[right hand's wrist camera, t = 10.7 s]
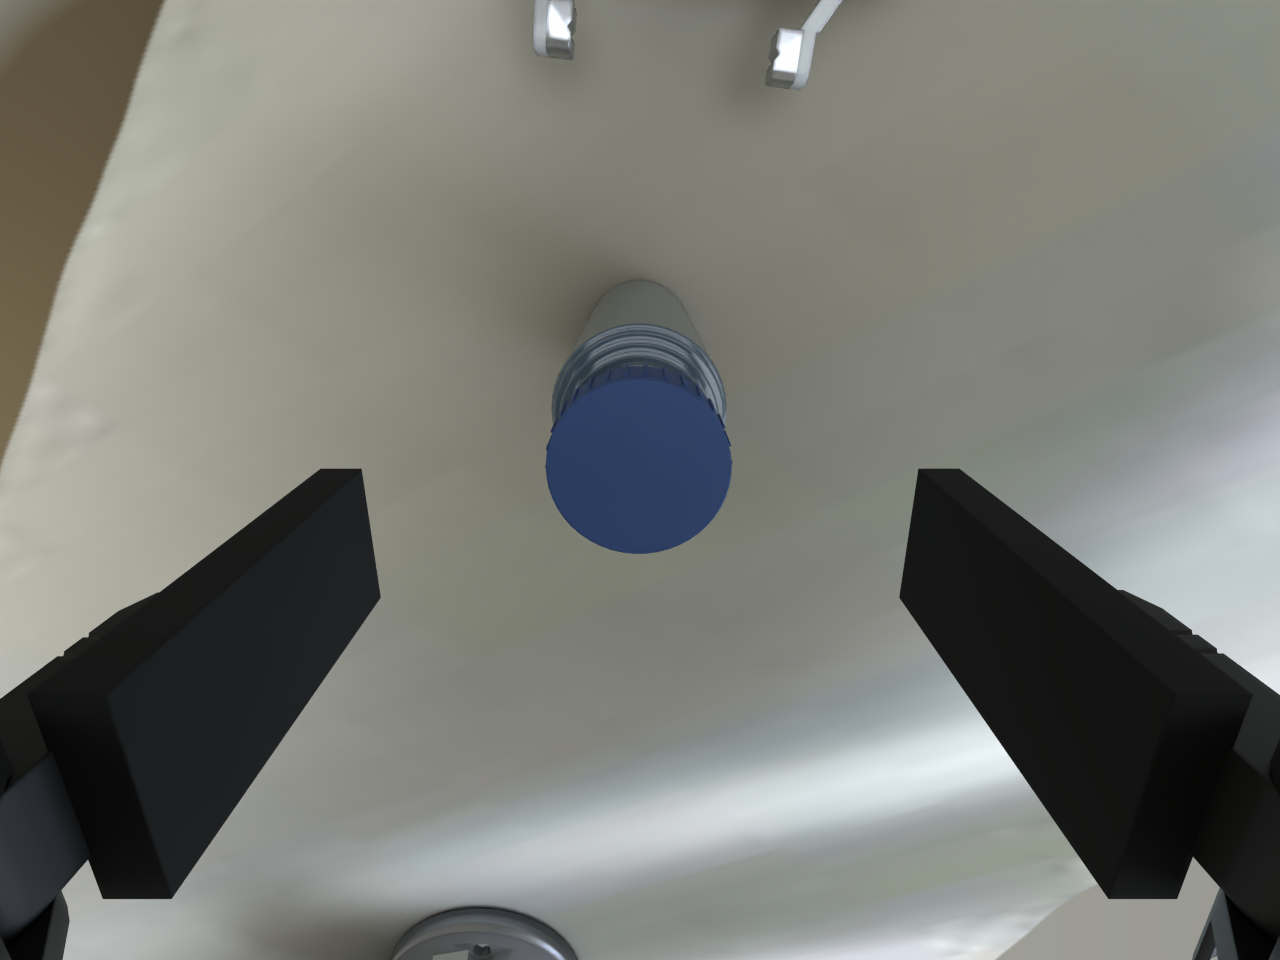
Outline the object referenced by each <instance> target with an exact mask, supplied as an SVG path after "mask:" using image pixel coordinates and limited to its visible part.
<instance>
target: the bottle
mask: <svg viewBox="0 0 1280 960" xmlns="http://www.w3.org/2000/svg"><path fill="white" fill-rule="evenodd" d="M626 364H629V366H644V365H645V364H648V366H649V367H656V368H660V369H663V367H666V368H667V370H668V371H670V372H673V373H675V374H677V375H679V376H680V375H681V374H682V375H684V377H685V379H686V380H688V381H689V382H691V383H692V384H693V385H695V386H696V385H698V386H699V387H700V390H701V392H702V393H703V394H704V395H705V396H706V398H707V399H709V398H710V399H711V400H712V403H713V405H714V407H715V410H716V413H717V414H718V413H719V414H720V416H721V418H722V421H723V423H724V426H725V420H726V396H725V391H724V387H723V383H722V380H721V378H720V375H719V373H718V371H717V369H716V367H715V365H714V363H713V361H712V359H711V357H710V356H709V354H708V352H707V350H706V348H705V346H704V344H703V342H702V340H701V339H700V337H699V335H698V333H697V331H696V329H695V327H694V325H693V323H692V321H691V320H690V318H689V316H688V314H687V312H686V310H685V308H684V306H683V305H682V303H681V302H680V300H679V299H678V298H677V297H676V296H675V295H674V294H673V293H672V292H671V291H670V290H668V289H667V288H665V287H663V286H662V285H659V284H657V283H654V282H650V281H643V280H635V281H629V282H625V283H622V284H620V285H617V286H615V287H614V288H612V289H610V290H609V291H608V292H607V293H606V294H604V296H603V297H602V298H601V299H600V300H599V302H598V303H597V304H596V306H595V308H594V310H593V312H592V314H591V315H590V317H589V319H588V321H587V323H586V325H585V327H584V328H583V330H582V332H581V334H580V336H579V338H578V339H577V341H576V343H575V345H574V347H573V349H572V351H571V352H570V354H569V356H568V358H567V360H566V362H565V364H564V365H563V367H562V369H561V371H560V373H559V375H558V378H557V381H556V383H555V387H554V391H553V396H552V420H553V425H554V422H555V420H556V418H557V417H560V415H559V414H560V411H561V409H562V407H563V404H564V402H565V401H566V402H568V401H569V400H570V398H571V397H572V396H573V394H574V392H575V389H576V388H577V387H578V388H579V389H580V388H581V387H582V386H583V385H584V384H586V383H587V382H588V381H589V379H590V377H592V376H593V377H594V378H595V377H597V376H598V375H600V374H603V373H605V372H606V371H607V369H609V368H610V369H611V370H614V369H617V368H621V367H625V365H626ZM723 430H724V429H723Z"/></svg>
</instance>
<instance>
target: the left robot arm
mask: <svg viewBox="0 0 1280 960" xmlns="http://www.w3.org/2000/svg"><path fill="white" fill-rule="evenodd" d="M841 2H842V0H819V1H818V2H817V4H816V5H815V6H814V8H813V9H812V11H811V12H810V14H809V15H808V16H807V18H806V19H805V21H804V22H803V24H802V25H801V26H800V28H799V29H798V30H795V29H785V28H779V29H778V31H777V32H776V35H774V36H773V38H772V39H771V45H770V52H769V60H770V62H771V65H770V66H769V67H768V69H767V71H766V78H765V85H766V86H772V87H778V88H785V89H791V90H801V89H802V88H803V87H804V86H805V85H806V82H807V79H808V75H809V71H810V66H811V60H812V54H813V49H814V43H815V37H816V36H817V35H818V33H819V32H820V31H821V30H822V28H823V27H824V25H825V24H826V23H827V21H828V20H829V18H830V17H831V16H832V14H833V13H834V11H835V10H836V9H837V7H838V6H839V4H840V3H841ZM576 17H577V12H576V8H574V2H573V0H535V7H534V27H533V47H534V51H535V53H536V54H537V56H542V57H550V58H558V59H566V60H573V57H574V47H575V44H574V41H573V38H572V36H573V34H574V33H575V32H576Z"/></svg>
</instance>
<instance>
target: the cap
mask: <svg viewBox="0 0 1280 960" xmlns="http://www.w3.org/2000/svg"><path fill="white" fill-rule="evenodd" d="M559 415H560V417H557V418H556V420H555V422H554V425H553V427H552V429H551V432H552V433H553V434H552V435H551V438H550V440H549V442H548V445H547V447H546V450H547V457H546V476H547V481H548V486H549V490H550V493H551V496H552V498H553V501H554V502H555V504H556V506H557V508H558V510H559V511H560V513H561V514H562V516H563V517H564V519H565V520H566V521H567V522H568V523H569V524H570V525H571V526H572V527H573V528H574V529H575V530H576V531H577V532H578V533H580V534H581V535H582V536H584V537H585V538H587V539H588V540H590V541H592V542H594V543H596V544H598V545H600V546H602V547H605V548H608V549H610V550H614V551H619V552H624V553H633V554H646V553H654V552H659V551H663V550H667V549H670V548H673V547H675V546H678V545H680V544H682V543H684V542H686V541H688V540H689V539H691V538H692V537H694V536H695V535H697V534H698V533H699V532H700V531H702V530H703V529H704V528H705V527H706V526H707V525H708V524H709V523H710V522H711V520H712V519H713V518H714V517H715V515H716V514H717V512H718V511H719V509H720V508H721V506H722V504H723V502H724V500H725V497H726V495H727V491H728V488H729V485H730V479H731V468H732V460H731V452H730V448H729V446H731V444H730V441H729V439H728V436H727V434H726V431H725V430H723V429H725V426H724V423H723V421H722V418H721V416H720V414H719V413H718V414H717V413H716V410H715V407H714V405H713V403H712V400H711V399H710V398H709V399H707V398H706V396H705V395H704V394H703V393H702V392H701V390H700V387H699V386H698V385H696V386H695V385H693V384H692V383H691V382H689V381H688V380H686V379H685V377H684V375H682V374H681V375H680V376H679V375H677V374H675V373H673V372H670V371H668V370H667V368H666V367H663V369H660V368H656V367H649V366H648V364H645V365H644V366H629V364H626V365H625V367H621V368H617V369H614V370H611V369H610V368H609V369H607V371H606V372H605V373H603V374H600V375H598V376H597V377H595V378H594V377H593V376H592V377H590V379H589V381H588V382H587V383H586V384H584V385H583V386H582V387H581V388H580V389H579V388H578V387H577V388H576V389H575V392H574V394H573V396H572V397H571V398H570V400H569V401H568V402H566V401H565V402H564V404H563V407H562V409H561V411H560V414H559Z"/></svg>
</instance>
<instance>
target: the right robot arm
mask: <svg viewBox="0 0 1280 960" xmlns="http://www.w3.org/2000/svg"><path fill="white" fill-rule="evenodd" d="M380 598H381V597H380V590H379V583H378V576H377V570H376V563H375V556H374V550H373V543H372V536H371V529H370V523H369V516H368V509H367V503H366V496H365V489H364V482H363V476H362V469H320V470H318V471H317V472H316V473H315V474H313V475H312V476H311V477H309V478H308V479H307V480H305V481H304V482H303V483H302V484H300V485H299V486H298V487H296V488H295V489H294V490H292V491H291V492H290V493H289V494H287V495H286V496H285V497H283V498H282V499H281V500H279V501H278V502H277V503H275V504H274V505H273V506H272V507H270V508H269V509H268V510H266V511H265V512H264V513H262V514H261V515H260V516H259V517H257V518H256V519H255V520H253V521H252V522H251V523H249V524H248V525H247V526H246V527H244V528H243V529H242V530H240V531H239V532H238V533H236V534H235V535H234V536H232V537H231V538H230V539H229V540H227V541H226V542H225V543H223V544H222V545H221V546H219V547H218V548H217V549H216V550H214V551H213V552H212V553H210V554H209V555H208V556H206V557H205V558H204V559H203V560H201V561H200V562H199V563H197V564H196V565H195V566H193V567H192V568H191V569H189V570H188V571H187V572H186V573H184V574H183V575H182V576H180V577H179V578H178V579H176V580H175V581H174V582H173V583H171V584H170V585H169V586H167V587H166V588H165V589H163V590H162V591H161V592H160V593H156V594H154V595H151V596H149V597H147V598H145V599H143V600H141V601H139V602H137V603H135V604H132V605H130V606H128V607H126V608H124V609H122V610H120V611H118V612H117V613H115V614H114V615H113V616H111V617H110V618H109V619H107V620H106V621H105V622H103V623H102V624H101V625H99V626H98V627H96V628H95V629H94V630H92V631H91V632H90V633H89V637H83V638H82V639H80V640H79V641H78V642H76V643H75V644H74V645H72V646H71V647H70V648H68V649H67V650H66V651H64V656H57V657H56V658H55V659H53V660H52V661H51V662H49V663H48V664H47V665H45V666H44V667H43V668H41V669H40V670H39V671H37V672H36V673H35V674H33V675H32V676H30V677H29V678H28V679H26V680H25V681H24V682H22V683H21V684H20V685H18V686H17V687H16V688H14V689H13V690H12V691H10V692H9V693H8V694H6V695H5V696H4V697H2V698H1V699H0V960H62V959H63V954H64V948H65V943H66V937H67V932H68V926H69V914H68V907H67V904H66V901H65V899H64V896H63V894H62V891H61V890H62V889H63V888H64V886H65V885H66V884H67V883H68V882H69V881H70V879H71V878H72V877H73V876H74V875H75V874H76V873H77V871H78V870H79V869H80V868H81V867H82V866H83V864H84V863H85V862H86V861H87V860H89V863H90V865H91V868H92V871H93V873H94V876H95V879H96V882H97V884H98V887H99V890H100V892H101V895H102V898H103V899H172V897H173V896H174V895H175V893H176V892H177V890H178V889H179V887H180V886H181V884H182V883H183V882H184V880H185V879H186V877H187V876H188V874H189V873H190V872H191V870H192V869H193V867H194V866H195V864H196V863H197V861H198V860H199V859H200V857H201V856H202V854H203V853H204V851H205V850H206V848H207V847H208V846H209V844H210V843H211V841H212V840H213V838H214V837H215V835H216V834H217V833H218V831H219V830H220V828H221V827H222V825H223V824H224V823H225V821H226V820H227V818H228V817H229V815H230V814H231V812H232V811H233V810H234V808H235V807H236V805H237V804H238V802H239V801H240V799H241V798H242V797H243V795H244V794H245V792H246V791H247V789H248V788H249V786H250V785H251V784H252V782H253V781H254V779H255V778H256V776H257V775H258V774H259V772H260V771H261V769H262V768H263V766H264V765H265V763H266V762H267V761H268V759H269V758H270V756H271V755H272V753H273V752H274V750H275V749H276V748H277V746H278V745H279V743H280V742H281V740H282V739H283V737H284V736H285V735H286V733H287V732H288V730H289V729H290V727H291V726H292V725H293V723H294V722H295V720H296V719H297V717H298V716H299V714H300V713H301V712H302V710H303V709H304V707H305V706H306V704H307V703H308V701H309V700H310V699H311V697H312V696H313V694H314V693H315V691H316V690H317V689H318V687H319V686H320V684H321V683H322V681H323V680H324V678H325V677H326V676H327V674H328V673H329V671H330V670H331V668H332V667H333V665H334V664H335V663H336V661H337V660H338V658H339V657H340V655H341V654H342V652H343V651H344V650H345V648H346V647H347V645H348V644H349V642H350V641H351V640H352V638H353V637H354V635H355V634H356V632H357V631H358V629H359V628H360V627H361V625H362V624H363V622H364V621H365V619H366V618H367V616H368V615H369V614H370V612H371V611H372V609H373V608H374V606H375V605H376V603H377V602H378V601H379V599H380ZM899 598H900V599H901V601H902V602H903V603H904V605H905V606H906V608H907V609H908V611H909V612H910V614H911V615H912V616H913V618H914V619H915V621H916V622H917V624H918V625H919V627H920V628H921V629H922V631H923V632H924V634H925V635H926V637H927V638H928V640H929V641H930V642H931V644H932V645H933V647H934V648H935V650H936V651H937V652H938V654H939V655H940V657H941V658H942V660H943V661H944V663H945V664H946V665H947V667H948V668H949V670H950V671H951V673H952V674H953V676H954V677H955V678H956V680H957V681H958V683H959V684H960V686H961V687H962V688H963V690H964V691H965V693H966V694H967V696H968V697H969V699H970V700H971V701H972V703H973V704H974V706H975V707H976V709H977V710H978V712H979V713H980V714H981V716H982V717H983V719H984V720H985V722H986V723H987V725H988V726H989V727H990V729H991V730H992V732H993V733H994V735H995V736H996V737H997V739H998V740H999V742H1000V743H1001V745H1002V746H1003V748H1004V749H1005V750H1006V752H1007V753H1008V755H1009V756H1010V758H1011V759H1012V761H1013V762H1014V763H1015V765H1016V766H1017V768H1018V769H1019V771H1020V772H1021V774H1022V775H1023V776H1024V778H1025V779H1026V781H1027V782H1028V784H1029V785H1030V786H1031V788H1032V789H1033V791H1034V792H1035V794H1036V795H1037V797H1038V798H1039V799H1040V801H1041V802H1042V804H1043V805H1044V807H1045V808H1046V810H1047V811H1048V812H1049V814H1050V815H1051V817H1052V818H1053V820H1054V821H1055V823H1056V824H1057V825H1058V827H1059V828H1060V830H1061V831H1062V833H1063V834H1064V835H1065V837H1066V838H1067V840H1068V841H1069V843H1070V844H1071V846H1072V847H1073V848H1074V850H1075V851H1076V853H1077V854H1078V856H1079V857H1080V859H1081V860H1082V861H1083V863H1084V864H1085V866H1086V867H1087V869H1088V870H1089V872H1090V873H1091V874H1092V876H1093V877H1094V879H1095V880H1096V882H1097V883H1098V884H1099V886H1100V887H1101V889H1102V890H1103V892H1104V893H1105V895H1106V896H1107V897H1108V899H1177V898H1178V895H1179V892H1180V890H1181V887H1182V884H1183V881H1184V879H1185V876H1186V874H1187V871H1188V868H1189V865H1190V863H1191V860H1192V857H1194V858H1195V859H1196V860H1197V862H1198V863H1199V864H1200V865H1201V866H1202V867H1203V868H1204V870H1205V871H1206V872H1207V873H1208V874H1209V875H1210V876H1211V878H1212V879H1213V880H1214V881H1215V882H1216V883H1217V884H1218V886H1219V887H1220V889H1219V891H1218V894H1217V896H1216V899H1215V901H1214V904H1213V906H1212V909H1211V911H1210V914H1209V916H1208V919H1207V921H1206V924H1205V926H1204V929H1203V931H1202V934H1201V936H1200V939H1199V941H1198V944H1197V946H1196V949H1195V951H1194V954H1193V959H1192V960H1210V959H1211V958H1213V957H1215V956H1217V957H1218V960H1280V695H1279V694H1278V693H1276V692H1275V691H1274V690H1272V689H1271V688H1269V687H1268V686H1267V685H1265V684H1264V683H1263V682H1261V681H1260V680H1259V679H1257V678H1256V677H1255V676H1253V675H1252V674H1250V673H1249V672H1248V671H1246V670H1245V669H1244V668H1242V667H1241V666H1240V665H1238V664H1237V663H1236V662H1234V661H1233V660H1231V659H1230V658H1229V657H1227V656H1226V655H1225V654H1218V653H1217V648H1215V647H1214V646H1212V645H1211V644H1210V643H1208V642H1207V641H1206V640H1204V639H1203V638H1202V637H1200V636H1199V635H1193V634H1192V630H1191V629H1189V628H1188V627H1187V626H1185V625H1184V624H1183V623H1181V622H1180V621H1179V620H1177V619H1176V618H1174V617H1173V616H1172V615H1170V614H1169V613H1168V612H1166V611H1165V610H1164V609H1162V608H1160V607H1158V606H1156V605H1154V604H1152V603H1149V602H1147V601H1145V600H1143V599H1141V598H1139V597H1137V596H1135V595H1132V594H1130V593H1128V592H1126V591H1124V590H1117V589H1115V588H1114V587H1113V586H1111V585H1110V584H1109V583H1107V582H1106V581H1105V580H1104V579H1102V578H1101V577H1100V576H1098V575H1097V574H1096V573H1094V572H1093V571H1092V570H1091V569H1089V568H1088V567H1087V566H1085V565H1084V564H1083V563H1081V562H1080V561H1079V560H1078V559H1076V558H1075V557H1074V556H1072V555H1071V554H1070V553H1068V552H1067V551H1066V550H1064V549H1063V548H1062V547H1061V546H1059V545H1058V544H1057V543H1055V542H1054V541H1053V540H1051V539H1050V538H1049V537H1048V536H1046V535H1045V534H1044V533H1042V532H1041V531H1040V530H1038V529H1037V528H1036V527H1034V526H1033V525H1032V524H1031V523H1029V522H1028V521H1027V520H1025V519H1024V518H1023V517H1021V516H1020V515H1019V514H1018V513H1016V512H1015V511H1014V510H1012V509H1011V508H1010V507H1008V506H1007V505H1006V504H1005V503H1003V502H1002V501H1001V500H999V499H998V498H997V497H995V496H994V495H993V494H991V493H990V492H989V491H988V490H986V489H985V488H984V487H982V486H981V485H980V484H978V483H977V482H976V481H975V480H973V479H972V478H971V477H969V476H968V475H967V474H965V473H964V472H963V471H962V470H960V469H918V476H917V483H916V489H915V496H914V503H913V509H912V516H911V523H910V530H909V536H908V543H907V550H906V556H905V563H904V570H903V577H902V583H901V590H900V597H899ZM391 960H577V958H576V957H575V955H574V953H573V951H572V950H571V948H570V947H569V946H568V945H567V944H566V942H565V941H564V940H563V939H562V938H561V937H559V936H558V935H557V934H556V933H555V932H553V931H552V930H550V929H549V928H547V927H546V926H544V925H542V924H540V923H538V922H537V921H534V920H532V919H530V918H527V917H524V916H522V915H519V914H515V913H511V912H507V911H501V910H494V909H463V910H456V911H450V912H446V913H442V914H439V915H436V916H434V917H431V918H429V919H427V920H425V921H423V922H421V923H419V924H418V925H416V926H415V927H413V928H412V929H411V930H410V931H408V932H407V933H406V934H405V935H404V936H403V937H402V939H401V940H400V941H399V943H398V944H397V946H396V947H395V949H394V951H393V954H392V957H391Z"/></svg>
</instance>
